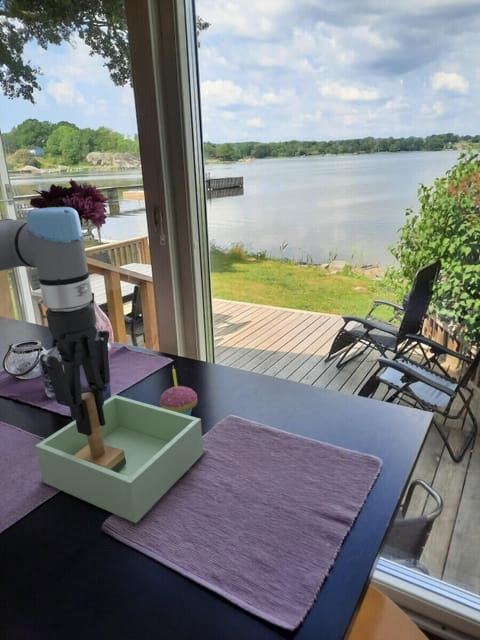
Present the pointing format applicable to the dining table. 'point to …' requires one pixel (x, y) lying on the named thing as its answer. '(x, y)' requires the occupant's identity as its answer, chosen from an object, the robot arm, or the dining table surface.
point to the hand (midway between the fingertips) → (91, 427)
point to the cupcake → (178, 398)
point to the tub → (140, 453)
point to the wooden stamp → (99, 442)
